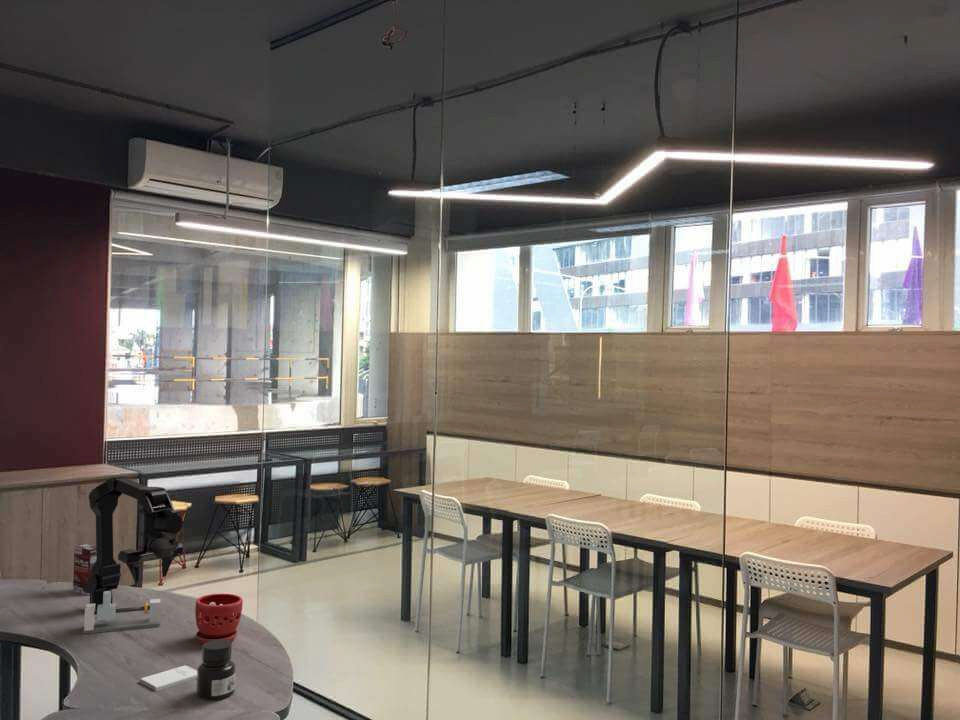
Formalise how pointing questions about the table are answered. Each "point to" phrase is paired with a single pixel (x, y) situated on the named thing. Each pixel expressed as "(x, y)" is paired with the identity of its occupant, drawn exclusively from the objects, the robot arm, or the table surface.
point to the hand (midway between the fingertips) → (150, 579)
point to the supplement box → (83, 566)
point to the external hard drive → (169, 678)
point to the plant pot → (218, 617)
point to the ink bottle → (216, 671)
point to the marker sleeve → (106, 608)
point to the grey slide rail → (128, 624)
